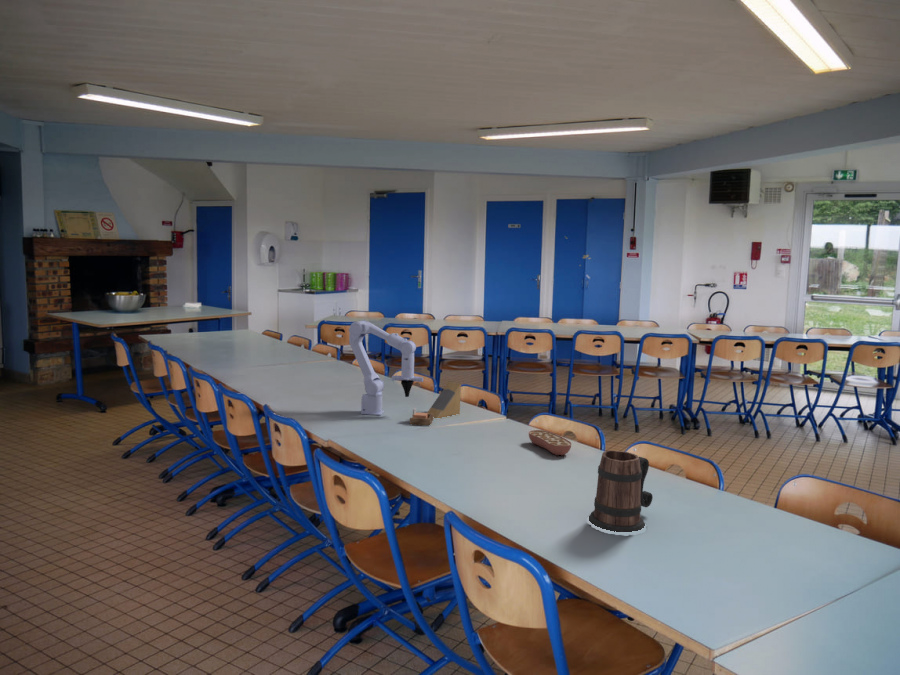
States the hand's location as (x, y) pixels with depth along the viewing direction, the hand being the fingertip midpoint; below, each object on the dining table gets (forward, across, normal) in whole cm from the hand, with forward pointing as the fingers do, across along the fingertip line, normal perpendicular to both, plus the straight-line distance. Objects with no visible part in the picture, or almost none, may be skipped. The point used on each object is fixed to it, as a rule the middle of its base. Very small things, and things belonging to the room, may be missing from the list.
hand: (407, 396), depth 297 cm
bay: (+9, +9, -9) cm, 16 cm away
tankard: (+10, +84, -104) cm, 135 cm away
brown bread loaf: (+10, +65, -38) cm, 76 cm away
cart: (+10, +8, -9) cm, 16 cm away
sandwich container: (+10, +16, +7) cm, 20 cm away
